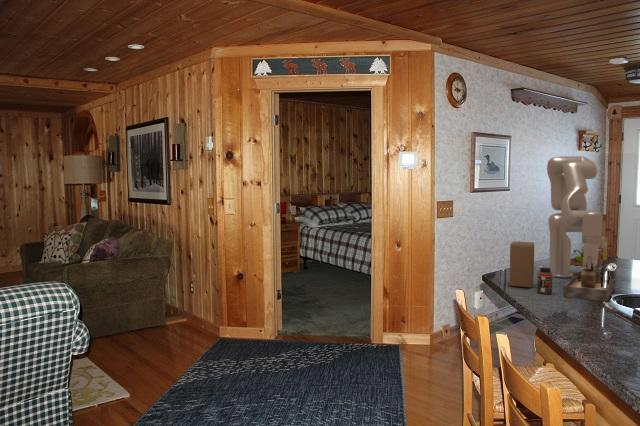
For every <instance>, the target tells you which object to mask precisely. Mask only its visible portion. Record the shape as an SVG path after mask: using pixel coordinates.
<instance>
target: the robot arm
mask: <svg viewBox="0 0 640 426" xmlns="http://www.w3.org/2000/svg"><path fill="white" fill-rule="evenodd" d="M546 172H547V176H548V179H549V183H550V201H551V202H550V203H551V207H552V209H553V210H555V211H561V212H559V213H557V212H556V213H553V214H551V215H550V216H549V217H548V230H549V262H548V263H549V265H547V266H544V265H540V266H539V268H540V267H550V272H551V273H552V278H572V277H573V276H574V273H572V272H571V265H570V259H571V253H572V252H571V248H572V241H571V238H570V237H569V236H568V235H567V233H581V244H583V247H584V251H583V250H582V251H583V266H585V265H586V264H587V267H586V269H588V270H596V268H595V266H596V265H597V261H599V259H598V244H601V240H602V237H603V235H602V232H603V231H602V229H603V213H601V212H599V211H595V210H590V209H589V210H588V209H587V207H588V206H587V199H586V194H587V193H588V192H589V187H588V184H587V180H593V179H595V178H596V177H597V174H598V168H597V165H596V164H595V162H594V161H592V160H591V159H589V158H588V157H586V156H583V155H582V156H580V155H578V156H577V155H576V156H575V155H573V156H570V155H568V156H562V155H561V156H560V155H559V156H554V157H551V158H549V160H548V161H547V165H546Z"/></svg>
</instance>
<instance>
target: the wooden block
mask: <svg viewBox="0 0 640 426" xmlns="http://www.w3.org/2000/svg"><path fill="white" fill-rule="evenodd" d="M509 249H510V250H509V286H511V287H517V288H518V287H519V288H527V289H528V288H529V289H531V288H533V287H534V279H535V271H534V270H535V269H534V268H535V243H534V242H532V241H516V240H515V241H511V243H510V247H509Z"/></svg>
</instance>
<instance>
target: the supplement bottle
mask: <svg viewBox="0 0 640 426" xmlns="http://www.w3.org/2000/svg"><path fill="white" fill-rule="evenodd" d="M539 268H540V270H539V271H538V272H537V277H536V278H537V280H536V282H537V286H536V292H537V293H538V294H542V295H550V294H552V292H553V277H552V273H551V272H550V267H547V266H545V267H540V266H539Z"/></svg>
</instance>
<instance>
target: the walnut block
mask: <svg viewBox="0 0 640 426" xmlns="http://www.w3.org/2000/svg"><path fill="white" fill-rule="evenodd" d="M596 272H597V270H596V269H595V270H588V269H587V268H582V269H581V272H580V279H581V287H589V288H595V283H596V281H597V277H596V276H597V275H596Z"/></svg>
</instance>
